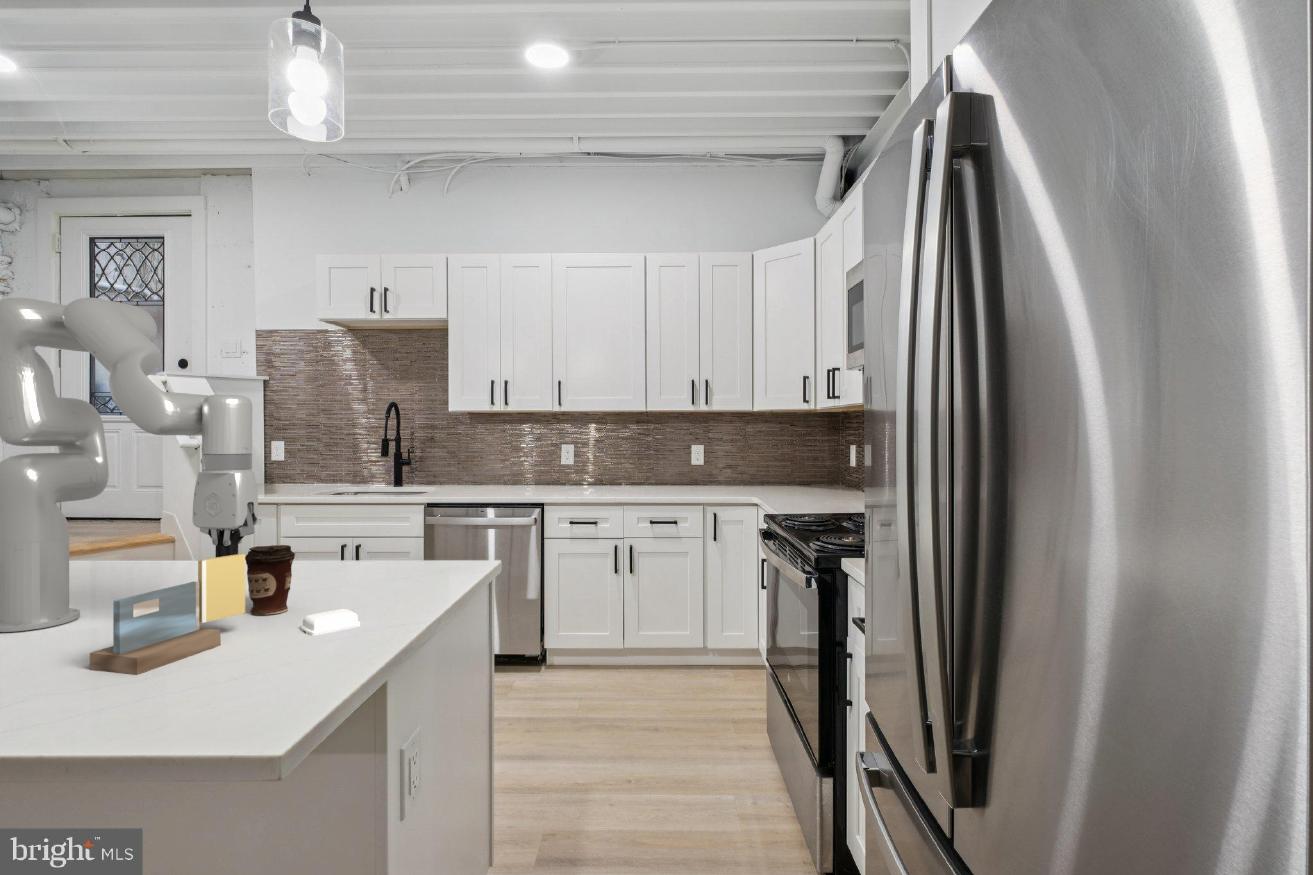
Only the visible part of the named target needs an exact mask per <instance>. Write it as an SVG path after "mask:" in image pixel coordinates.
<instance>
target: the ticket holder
mask: <svg viewBox="0 0 1313 875" xmlns="http://www.w3.org/2000/svg"><path fill="white" fill-rule="evenodd" d="M112 606H113V608H112V609H113V610H112V612H113V614H112V616H113V619H112V620H113V621H112V622H113V623H112V624H113V625H112V626H113V634H112V635H113V645H112V646H108V647H104V648H102V649H98V650H95V651H91V652H89V671H90V670H92V671H101V672H109V673H118V674H126V675H134V676H135V675H140V674H143V673H146V672H150V671H151V670H155V669H157V668H160V667H164V666H166V665H169V664H172V663H174V662H177V661H180V660H183V659H186V658H188V657H191V656H195V655H197V654H200V653H202V652H206V651H207V650H210V649H213V648H216V647H219V646H221V642H222V641H221V635H222V634H221V630H220V629H211V628H210V629H209V628H208V629H207V628H200V622H199V582H198V581H190V582H186V583H182V584H178V585H174V586H170V587H165V588H162V589H157V590H152V591H148V592H145V593H144V592H143V593H140V594H136V595H132V596H127V597H122V598H118V599H114V600H113V603H112Z"/></svg>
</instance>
